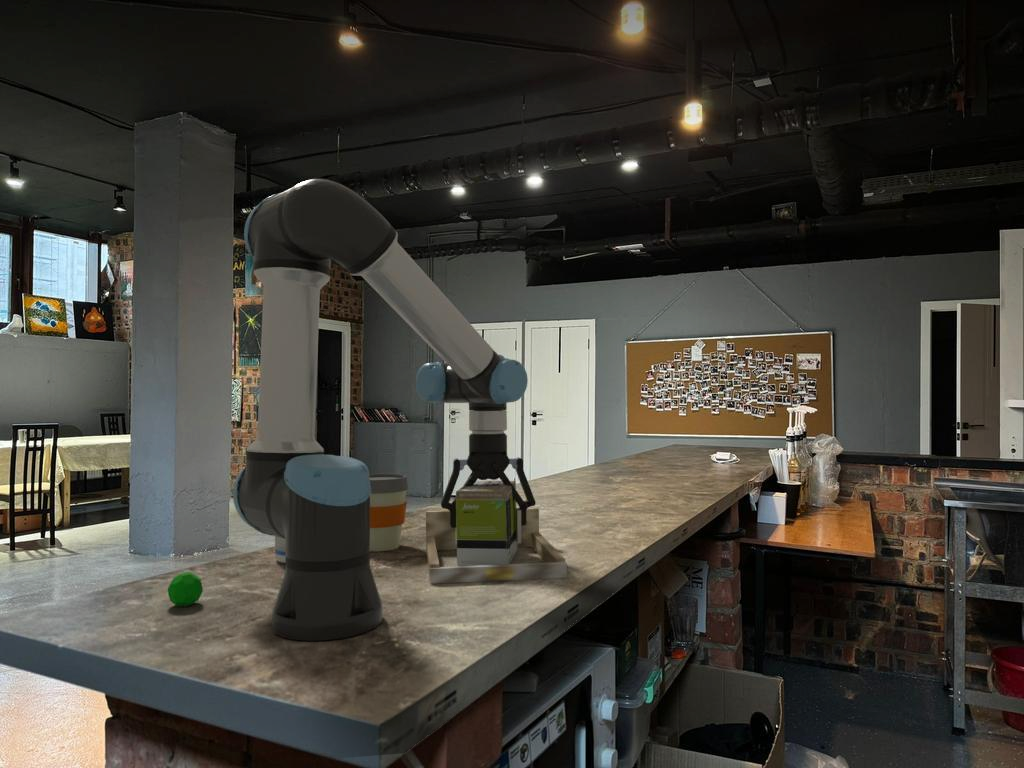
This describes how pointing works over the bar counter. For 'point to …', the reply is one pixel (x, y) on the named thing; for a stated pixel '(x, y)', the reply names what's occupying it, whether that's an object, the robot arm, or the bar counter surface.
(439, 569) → the open wooden storage bin
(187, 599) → the polyhedron
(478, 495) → the tea box
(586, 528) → the bar counter surface
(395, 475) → the reusable coffee cup
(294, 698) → the bar counter surface
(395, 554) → the bar counter surface
